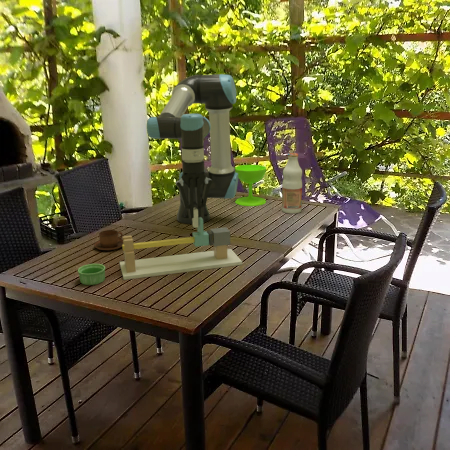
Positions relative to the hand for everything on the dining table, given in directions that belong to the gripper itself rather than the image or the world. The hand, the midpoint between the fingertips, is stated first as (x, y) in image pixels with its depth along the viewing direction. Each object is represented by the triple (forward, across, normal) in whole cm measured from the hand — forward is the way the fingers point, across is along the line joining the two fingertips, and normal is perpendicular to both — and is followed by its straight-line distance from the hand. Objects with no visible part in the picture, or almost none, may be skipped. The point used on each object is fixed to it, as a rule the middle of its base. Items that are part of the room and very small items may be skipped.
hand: (195, 226), depth 180 cm
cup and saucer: (+14, -29, +28) cm, 42 cm away
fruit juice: (+14, +59, +50) cm, 79 cm away
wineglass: (+14, +46, +73) cm, 87 cm away
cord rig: (+14, -6, 0) cm, 15 cm away
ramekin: (+14, -37, -4) cm, 40 cm away
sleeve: (+7, +2, 0) cm, 7 cm away
